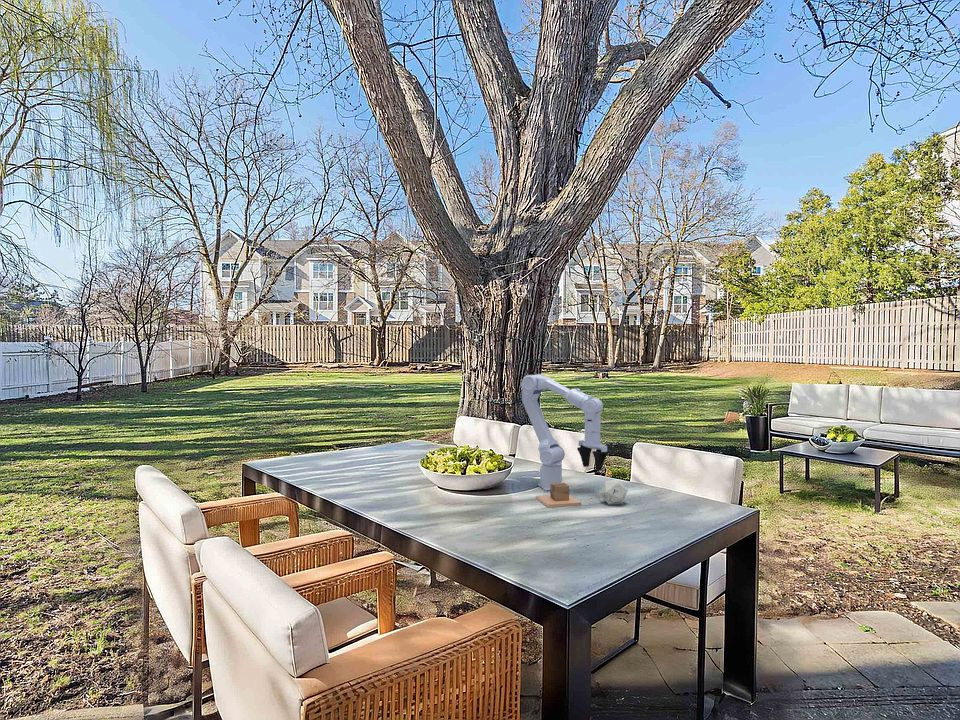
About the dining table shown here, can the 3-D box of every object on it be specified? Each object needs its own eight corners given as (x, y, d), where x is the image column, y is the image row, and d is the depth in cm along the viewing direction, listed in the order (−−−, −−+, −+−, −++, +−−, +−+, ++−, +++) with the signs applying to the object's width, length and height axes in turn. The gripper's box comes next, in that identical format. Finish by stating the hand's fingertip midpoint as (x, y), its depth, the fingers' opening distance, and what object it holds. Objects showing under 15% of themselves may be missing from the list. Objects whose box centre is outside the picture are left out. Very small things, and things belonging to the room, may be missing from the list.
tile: (536, 498, 206) (536, 495, 206) (567, 496, 209) (567, 493, 209) (547, 507, 194) (547, 504, 194) (581, 505, 197) (581, 502, 197)
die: (595, 504, 200) (603, 486, 194) (601, 487, 207) (609, 469, 201) (618, 514, 198) (626, 496, 193) (623, 497, 205) (632, 479, 199)
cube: (550, 497, 203) (550, 483, 203) (563, 496, 204) (563, 482, 204) (555, 501, 198) (555, 486, 198) (569, 500, 200) (569, 485, 199)
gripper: (571, 429, 216) (571, 465, 216) (596, 434, 203) (595, 473, 203) (587, 428, 219) (587, 464, 220) (612, 433, 206) (611, 471, 207)
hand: (592, 468), depth 212 cm, fingers open, 7 cm apart
